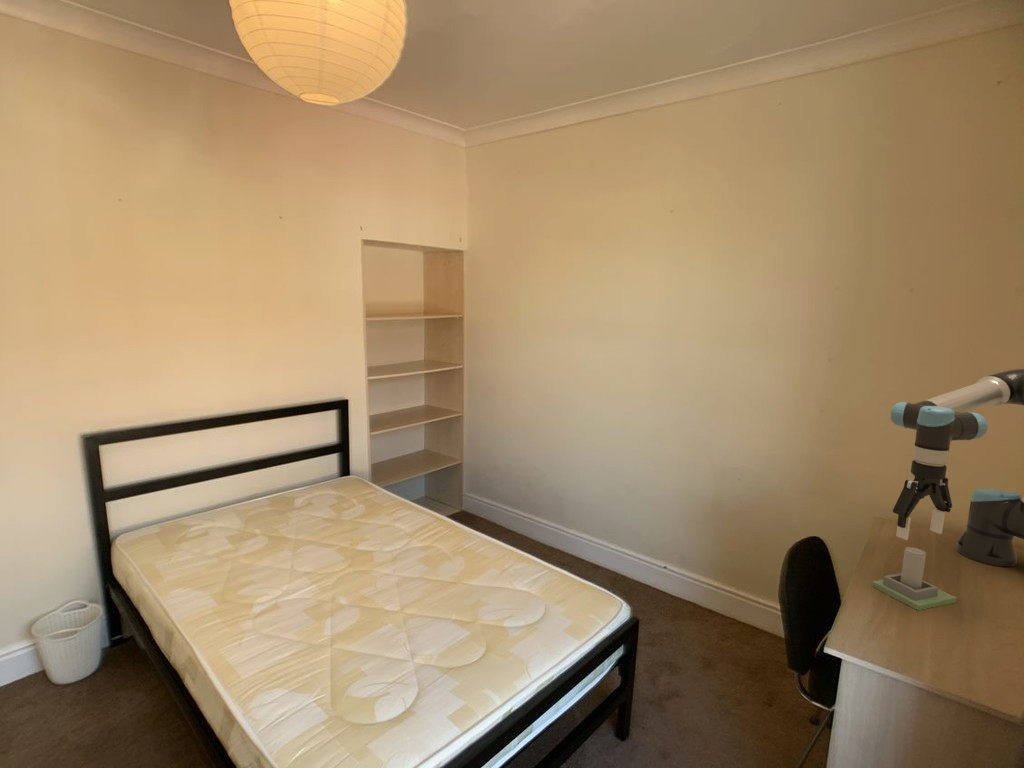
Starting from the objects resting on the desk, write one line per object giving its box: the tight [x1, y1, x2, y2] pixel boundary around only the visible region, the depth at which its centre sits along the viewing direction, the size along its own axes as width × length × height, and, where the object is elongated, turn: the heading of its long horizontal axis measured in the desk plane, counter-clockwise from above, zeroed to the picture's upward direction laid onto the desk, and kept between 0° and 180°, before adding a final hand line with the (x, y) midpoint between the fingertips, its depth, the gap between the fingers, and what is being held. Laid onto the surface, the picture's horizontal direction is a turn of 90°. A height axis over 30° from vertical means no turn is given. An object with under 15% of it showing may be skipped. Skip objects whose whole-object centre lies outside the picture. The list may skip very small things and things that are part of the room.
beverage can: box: [900, 546, 927, 590], centre depth 146 cm, size 5×5×12 cm
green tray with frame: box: [871, 572, 957, 611], centre depth 148 cm, size 15×13×4 cm
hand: (919, 535), depth 145 cm, fingers open, 13 cm apart
